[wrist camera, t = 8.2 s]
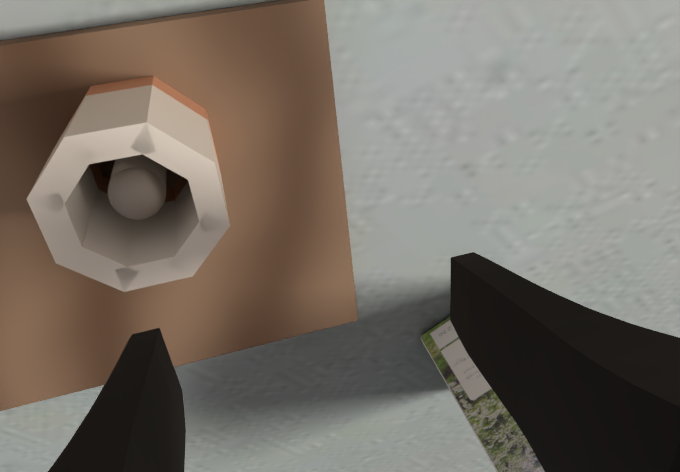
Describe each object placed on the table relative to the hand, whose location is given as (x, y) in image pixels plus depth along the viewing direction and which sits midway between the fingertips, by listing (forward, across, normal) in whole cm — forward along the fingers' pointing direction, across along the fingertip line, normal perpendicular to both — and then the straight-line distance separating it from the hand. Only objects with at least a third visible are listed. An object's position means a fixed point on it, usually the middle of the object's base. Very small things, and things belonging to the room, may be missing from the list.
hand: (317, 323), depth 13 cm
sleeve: (+9, +4, -2) cm, 10 cm away
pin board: (+10, +7, +1) cm, 12 cm away
